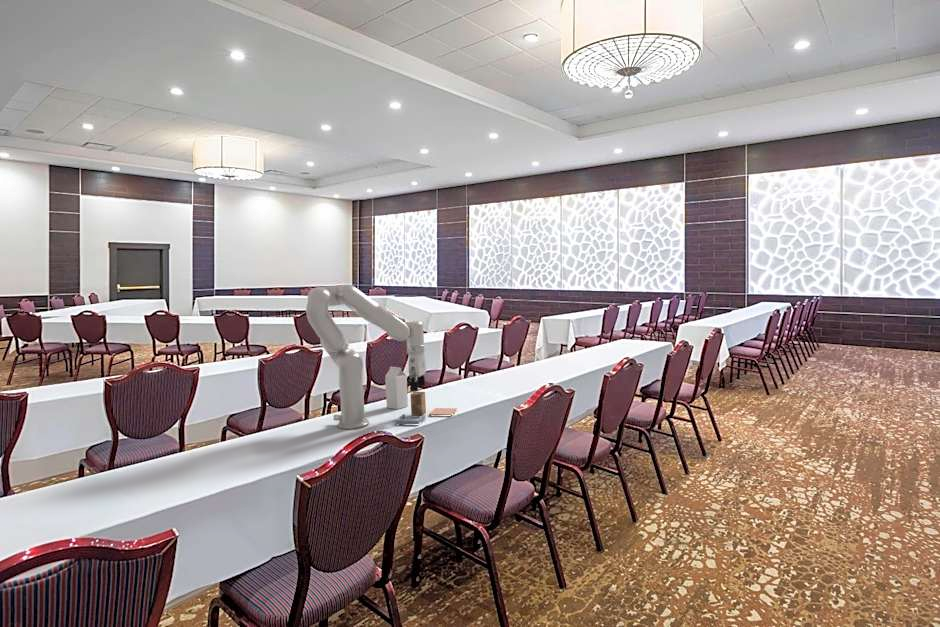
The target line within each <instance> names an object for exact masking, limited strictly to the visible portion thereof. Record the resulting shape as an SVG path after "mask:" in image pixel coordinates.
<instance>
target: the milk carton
mask: <svg viewBox="0 0 940 627" xmlns="http://www.w3.org/2000/svg"><path fill="white" fill-rule="evenodd" d="M384 379H385V380H384V381H385V383H384V384H385V397H386V398H385V399H386V402H385V403H386V408H387V409H391V410H400V409H403V408H406V407H409V402H408V401H409V400H408V397H409V396H408V380H407V379H408V378H407V374H406V373H405V372H404V371H402V367H397V366H389V370H388V371H387V373H386V374H385V375H384Z"/></svg>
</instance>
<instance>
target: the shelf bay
mask: <svg viewBox="0 0 940 627" xmlns="http://www.w3.org/2000/svg"><path fill="white" fill-rule="evenodd" d="M405 418H406V414H401V416H398V417H397V418H396V419H395V425H396V424H419V423H420V422H422V421H423V420H424V419H425V420H426V414H425V415H422V416H421V417H418V419H405ZM404 419H405V420H404ZM425 420H424V421H425ZM424 421H423V422H424ZM423 422H422V423H423Z"/></svg>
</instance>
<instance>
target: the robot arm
mask: <svg viewBox="0 0 940 627" xmlns="http://www.w3.org/2000/svg"><path fill="white" fill-rule="evenodd" d="M340 305H341V306H342V305H344V306H346V307H347V308H348V309H350V311H352V312H354V313H355V314H357V315H358V316H359V317H360V318H362V319H363V320H365V321H367V322H368V323H370V324H371V325H375V327H378V328H380V329H381V330H383V331H384V332H385V333H387V336H388V337H390V338H391V339H392V340H395V341H398V342H404V341H406V353H407V355H408V376H409V377H408V378H409V387H410V391H411V392H419V387H425V386H426V381H425V380H426V378H425V375H426V373H427V366H426V358H425V357H426V356H425V338H424V334H425V333H424V323H423V322H422V321H420V320H414V321H407V322H405V321H404V322H403V321H402V320H401V319H399V318H398V317H397V316H395V315H394V314H392V313H391V312H390V311H388V310H387V309H386V308H384V307H383V306H381V305H380V304H379V303H377V302H376V301H375V300H373V299H372V298H371V297H369V296H368V295H367V294H365V293H364V292H363V291H361V290H360V289H359V288H357V287H356V286H354V285H352V284H340V285H339V284H338V285H329V286H316V287H313V288H312V289H310V290H309V292H308V293H307V303H306V309H305V311H306V318H307V321H308V323H309V324H310V327H311V328H312V329H313V331H314V332H315V334H316V335H317V337H318V338H319V340H320V344H321V346H322V347H323V350H324V351H326V353H327V354H328V355H329V357H330V358H331V360H332V361H333V363H334V364H335V365H336V366H337V368H338V370H339V371H338V373H339V376H338V378H339V379H338V383H339V396H340V412H341V413H340V414H334V415H333V420H334V421H338V423H337V427H338V428H340V429H343V430H354V429H355V430H356V429H360V428H364V427H367V426H369V424H370V421H369V419H367V418H366V414H365V399H364V394H365V393H364V382H363V379H364V376H363V373H364V372H363V370H364V363H363V358H362V356H361V354H359V352H357V351H356V350H354V349H353V347H352V346H351V345H350V343H349V342H348V341H347V339H346V338H347V337H346V335H345V334H344V332H342V331H341V329H340V328H339V326H338V325H337V323H335V321H334V319H333V318H332V317H331V315H330V312H329V307H333V306H340Z"/></svg>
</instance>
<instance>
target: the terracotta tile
mask: <svg viewBox="0 0 940 627" xmlns="http://www.w3.org/2000/svg"><path fill="white" fill-rule="evenodd" d="M456 410H457V411H458V408H451V407H450V408H446V407H444V408H443V407H435V408H434V409H433V410H432V411H430V412H429V413H428V416H429V415H451V414H452V413H454V412H455V411H456ZM457 411H456V412H457ZM456 412H455V413H456ZM455 413H454V414H455Z"/></svg>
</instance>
